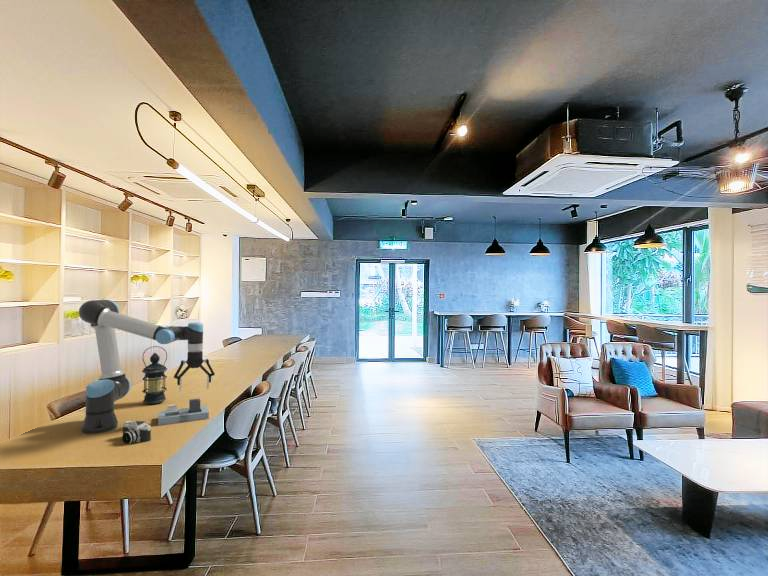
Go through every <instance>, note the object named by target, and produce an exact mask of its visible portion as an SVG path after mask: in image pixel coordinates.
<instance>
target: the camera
mask: <svg viewBox="0 0 768 576" xmlns="http://www.w3.org/2000/svg"><path fill="white" fill-rule="evenodd" d="M151 433H152V427H151V425H150V424H148V423H147V421H144V420H127V421H124V423H122V437H121V439H122V442H123V443H124V444H127V445H131V444H133V443H136V442H137V443H139V442H142V443H143V442H144V443H145V442H146V443H147V442H150V441H151V439H152V437H151V436H152V435H151Z"/></svg>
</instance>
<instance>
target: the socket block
mask: <svg viewBox="0 0 768 576" xmlns="http://www.w3.org/2000/svg"><path fill="white" fill-rule="evenodd" d="M166 406H167V409H166V410H159V411H158V415H157V418H158V419H157V426H164V425H165V426H166V425H172V424H173V425H174V424H180V423H181V424H182V423H188V422H193V421H201V420H208V419H210V416H209V415H210V412H209V410H208V407H207V406H208V405H200V412H196V413H189V407H184V408H177V407H178V406H177V404H171V405H170V404H169V405H166Z"/></svg>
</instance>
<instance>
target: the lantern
mask: <svg viewBox="0 0 768 576" xmlns="http://www.w3.org/2000/svg"><path fill="white" fill-rule="evenodd" d="M151 348H160V349H162V350H163V351H164V352H165V355H166V357H165V360H164V363H163V364H161V363H159V362H160V355H158V353H157V352H154V353H152V354H151V356H150V358H149V360H150V362H151V363H150V364H149V365H146V362H145V359H144V358H142V362H143V364H144V368H143V369H142V371H141V373H144V375H143V376H144V377H143V378H142V380H143V386H144V387H143V390H142V391H141V392H142V393H144V394H145V395H144V398H143V400H142V402H143V404H144V403H145V404H147V405H156V404H160V403H161V404H162V403H163V402H164V401H166V400H167V397H166V393H165V392H166V391H167V387H166V379H167V377H168V376H167V375H165V372H166V371H167V370H168V368H167V366H165V363H166V362H167V360H168V352H167V350H165V348H164V347H162V346H158V345H156V346H154V345H153V346H150V347H148V348H146V349H145V350H144V352H143V353H142V356H144V354H145V353H146V351H147V350H149V349H151Z"/></svg>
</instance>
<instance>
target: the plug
mask: <svg viewBox="0 0 768 576" xmlns="http://www.w3.org/2000/svg"><path fill="white" fill-rule="evenodd" d="M188 405H189V406H188V408H189V413H196V412H200V406H201V399H200V398H192V399H189V403H188Z"/></svg>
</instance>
